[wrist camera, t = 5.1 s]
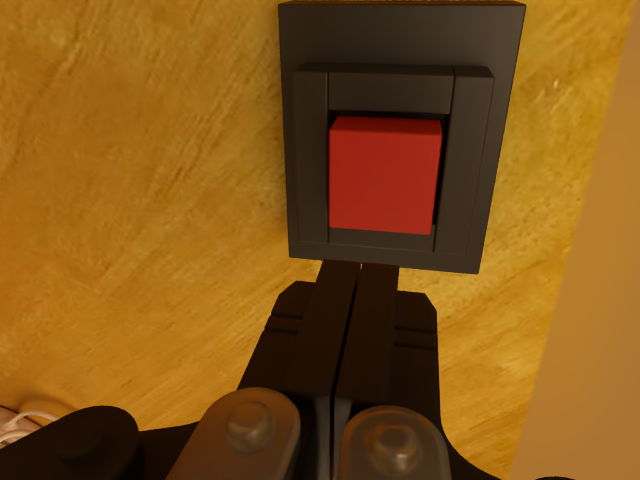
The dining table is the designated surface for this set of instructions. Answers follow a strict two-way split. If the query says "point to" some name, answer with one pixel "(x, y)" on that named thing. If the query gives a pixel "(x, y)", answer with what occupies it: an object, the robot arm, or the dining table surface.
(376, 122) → the red button cap
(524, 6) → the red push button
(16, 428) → the lotus flower trinket box
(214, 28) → the dining table surface
